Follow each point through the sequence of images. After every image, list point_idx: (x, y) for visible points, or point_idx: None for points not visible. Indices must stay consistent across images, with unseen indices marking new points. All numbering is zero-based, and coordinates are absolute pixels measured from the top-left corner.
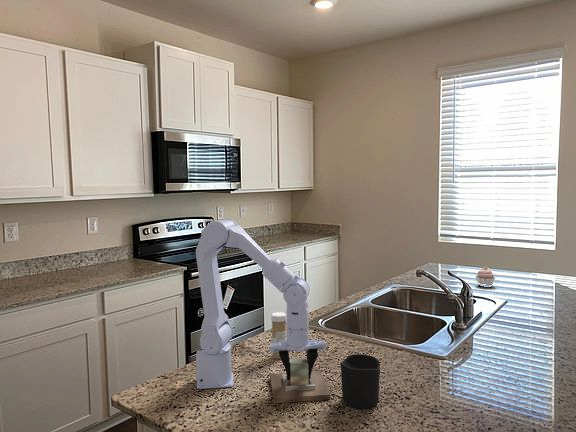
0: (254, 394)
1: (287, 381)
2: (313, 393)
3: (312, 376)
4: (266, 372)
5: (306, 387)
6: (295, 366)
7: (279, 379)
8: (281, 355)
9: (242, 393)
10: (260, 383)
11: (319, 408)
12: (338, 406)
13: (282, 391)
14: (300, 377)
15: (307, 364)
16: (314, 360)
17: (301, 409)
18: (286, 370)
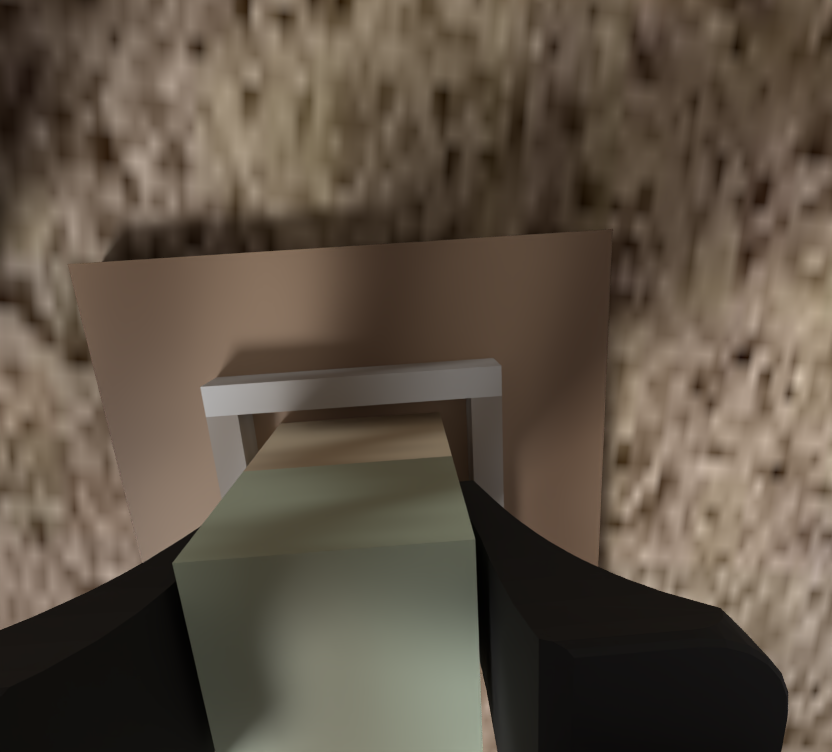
0: (727, 398)
1: None
2: (235, 300)
3: None
4: None
5: (294, 377)
6: (393, 534)
7: None
8: (739, 741)
9: (814, 421)
10: (658, 565)
11: (199, 100)
12: (21, 122)
13: (521, 360)
14: (340, 458)
15: (184, 564)
16: (9, 631)
17: (363, 97)
18: (516, 522)
